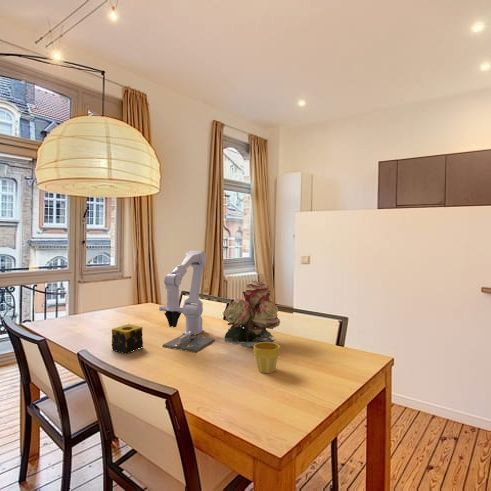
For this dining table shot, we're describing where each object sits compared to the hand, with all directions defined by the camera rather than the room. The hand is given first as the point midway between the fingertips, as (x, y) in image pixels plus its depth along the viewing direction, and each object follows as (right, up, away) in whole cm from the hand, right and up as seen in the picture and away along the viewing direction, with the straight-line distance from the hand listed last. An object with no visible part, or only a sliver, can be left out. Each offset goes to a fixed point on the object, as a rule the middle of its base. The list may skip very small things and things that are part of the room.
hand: (172, 326), depth 171 cm
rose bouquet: (+40, -9, +7) cm, 41 cm away
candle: (-19, -9, -7) cm, 23 cm away
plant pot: (+43, -10, -30) cm, 54 cm away
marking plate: (+8, -8, +1) cm, 11 cm away
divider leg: (+6, -7, +1) cm, 9 cm away
